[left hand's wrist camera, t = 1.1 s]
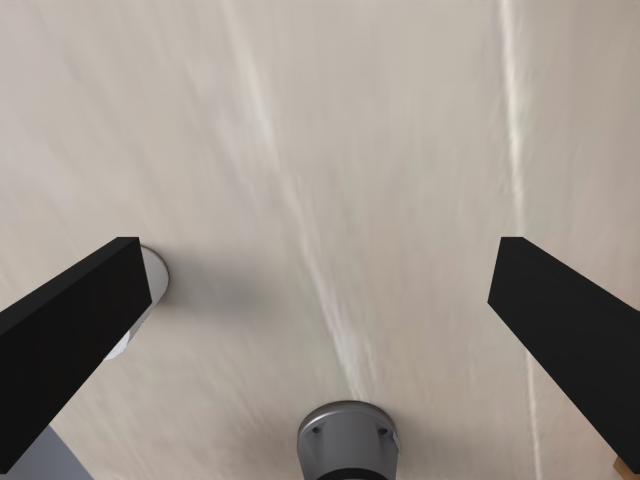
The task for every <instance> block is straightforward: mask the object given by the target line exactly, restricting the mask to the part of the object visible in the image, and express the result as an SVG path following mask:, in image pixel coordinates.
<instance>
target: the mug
mask: <svg viewBox="0 0 640 480" xmlns="http://www.w3.org/2000/svg"><path fill="white" fill-rule="evenodd" d="M141 250H142V255H143V260H144V264H145V269H146V274H147V279H148V283H149V288H150V293H151V298H152V302H153V303H152V304H151V305H150V306H149V307H148V309H147V310H146V311H145V312H144V313H143V314H142V316H141V317H140V318H139V319H138V320H137V321H136V323H135V324H134V325H133V326H132V327H131V328H130V330H129V331H128V332H127V333H126V334H125V335H124V337H123V338H122V339H121V340H120V341H119V342H118V344H117V345H116V346H115V347H114V348H113V349H112V351H111V352H110V353H109V354H108V355H107V356H106V358H105V359H104V360H103V361H105V360H108V359H111V358H113V357H115V356H117V355H118V354H120V353H121V352H122V351H123V349H124V348H125V347H126V346H127V345H128V343H129V342H130V340H131V339H132V338H133V336H134V335H135V333H136V332H137V331H138V329H139V328H140V326H141V325H142V324H143V322H144V321H145V319H146V318H147V317H148V315H149V314H150V312H151V311H152V309H153V308H154V307H155V305H156V304H157V302H158V301H159V300H160V298H161V297H162V295H163V294H164V293H165V291H166V289H167V287H168V284H169V275H168V271H167V268H166V266H165V264H164V263H163V261H162V260H161V259H160V258H159V257H158V255H157V254H155V253H154V252H152V251H151V250H149V249H147V248H145V247H142V246H141Z"/></svg>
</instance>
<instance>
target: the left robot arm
mask: <svg viewBox="0 0 640 480" xmlns="http://www.w3.org/2000/svg"><path fill="white" fill-rule="evenodd" d="M152 303H153V302H152V298H151V293H150V288H149V283H148V279H147V274H146V269H145V264H144V260H143V255H142V250H141V246H140V241H139V237H117V238H115V239H114V240H112V241H110V242H109V243H107V244H106V245H104V246H103V247H101V248H100V249H98V250H96V251H95V252H93V253H92V254H90V255H89V256H87V257H86V258H84V259H82V260H81V261H79V262H78V263H76V264H75V265H73V266H72V267H70V268H68V269H67V270H65V271H64V272H62V273H61V274H59V275H58V276H56V277H54V278H53V279H51V280H50V281H48V282H47V283H45V284H44V285H42V286H40V287H39V288H37V289H36V290H34V291H33V292H31V293H30V294H28V295H26V296H25V297H23V298H22V299H20V300H19V301H17V302H16V303H14V304H12V305H11V306H9V307H8V308H6V309H5V310H3V311H2V312H0V474H6V473H7V472H8V471H9V470H10V469H11V468H12V466H13V465H14V464H15V463H16V462H17V460H18V459H19V458H20V457H21V456H22V455H23V454H24V452H25V451H26V450H27V449H28V448H29V446H30V445H31V444H32V443H33V442H34V441H35V439H36V438H37V437H38V436H39V435H40V434H41V432H42V431H43V430H44V429H45V428H46V427H47V425H48V424H49V423H50V422H51V421H52V420H53V418H54V417H55V416H56V415H57V414H58V413H59V411H60V410H61V409H62V408H63V407H64V406H65V404H66V403H67V402H68V401H69V400H70V399H71V397H72V396H73V395H74V394H75V393H76V392H77V390H78V389H79V388H80V387H81V386H82V385H83V383H84V382H85V381H86V380H87V379H88V378H89V376H90V375H91V374H92V373H93V372H94V371H95V369H96V368H97V367H98V366H99V365H100V364H101V362H102V361H103V360H104V359H105V358H106V356H107V355H108V354H109V353H110V352H111V351H112V349H113V348H114V347H115V346H116V345H117V344H118V342H119V341H120V340H121V339H122V338H123V337H124V335H125V334H126V333H127V332H128V331H129V330H130V328H131V327H132V326H133V325H134V324H135V323H136V321H137V320H138V319H139V318H140V317H141V316H142V314H143V313H144V312H145V311H146V310H147V309H148V307H149V306H150V305H151V304H152ZM487 303H488V304H489V305H490V306H491V307H492V309H493V310H494V311H495V312H496V313H497V314H498V316H499V317H500V318H501V319H502V320H503V321H504V323H505V324H506V325H507V326H508V327H509V328H510V330H511V331H512V332H513V333H514V334H515V335H516V337H517V338H518V339H519V340H520V341H521V342H522V344H523V345H524V346H525V347H526V348H527V349H528V351H529V352H530V353H531V354H532V355H533V356H534V358H535V359H536V360H537V361H538V362H539V364H540V365H541V366H542V367H543V368H544V369H545V371H546V372H547V373H548V374H549V375H550V376H551V378H552V379H553V380H554V381H555V382H556V383H557V385H558V386H559V387H560V388H561V389H562V390H563V392H564V393H565V394H566V395H567V396H568V397H569V399H570V400H571V401H572V402H573V403H574V404H575V406H576V407H577V408H578V409H579V410H580V411H581V413H582V414H583V415H584V416H585V417H586V418H587V420H588V421H589V422H590V423H591V424H592V425H593V427H594V428H595V429H596V430H597V431H598V432H599V434H600V435H601V436H602V437H603V438H604V440H605V441H606V442H607V443H608V444H609V445H610V447H611V448H612V449H613V450H614V451H615V452H616V454H617V455H618V456H619V457H620V458H621V459H622V461H623V462H624V463H625V464H626V465H627V466H628V468H629V469H630V470H631V471H632V472H633V473H634V474H640V311H638V310H636V309H634V308H632V307H631V306H629V305H628V304H626V303H624V302H623V301H621V300H620V299H618V298H617V297H615V296H614V295H612V294H610V293H609V292H607V291H606V290H604V289H603V288H601V287H600V286H598V285H596V284H595V283H593V282H592V281H590V280H589V279H587V278H586V277H584V276H582V275H581V274H579V273H578V272H576V271H575V270H573V269H572V268H570V267H568V266H567V265H565V264H564V263H562V262H561V261H559V260H558V259H556V258H554V257H553V256H551V255H550V254H548V253H547V252H545V251H544V250H542V249H540V248H539V247H537V246H536V245H534V244H533V243H531V242H530V241H528V240H526V239H525V238H523V237H501V241H500V246H499V250H498V255H497V260H496V264H495V269H494V274H493V279H492V283H491V288H490V293H489V298H488V302H487ZM398 450H399V452H400V455H401V446H400V443H399V441H398V437H397V433H396V429H395V426H394V424H393V422H392V420H391V419H390V418H389V416H388V415H387V414H385V413H384V412H383V411H381V410H380V409H378V408H376V407H374V406H372V405H369V404H366V403H361V402H353V401H343V402H336V403H331V404H328V405H325V406H322V407H320V408H318V409H316V410H315V411H313V412H312V413H310V414H309V415H308V416H307V417H306V418H305V419H304V420H303V422H302V423H301V425H300V428H299V431H298V439H297V453H298V457H299V460H300V464H301V468H302V472H303V475H304V479H305V480H395V477H396V467H397V458H398Z"/></svg>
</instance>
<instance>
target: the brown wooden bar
mask: <svg viewBox="0 0 640 480" xmlns="http://www.w3.org/2000/svg"><path fill="white" fill-rule="evenodd" d="M613 467H614V468H615V469H616V470H617V472H618V473H619V474H620V475H621V477H622V478H623V479H624V480H640V474H634V473H633V472H632V471H631V470H630V469H629V468H628V466H627V465H626V464H625V463H624V462H623V461H622V459H621V458H620V457H619V456H618V458H617V460H616V462H615V464H614V466H613Z"/></svg>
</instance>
